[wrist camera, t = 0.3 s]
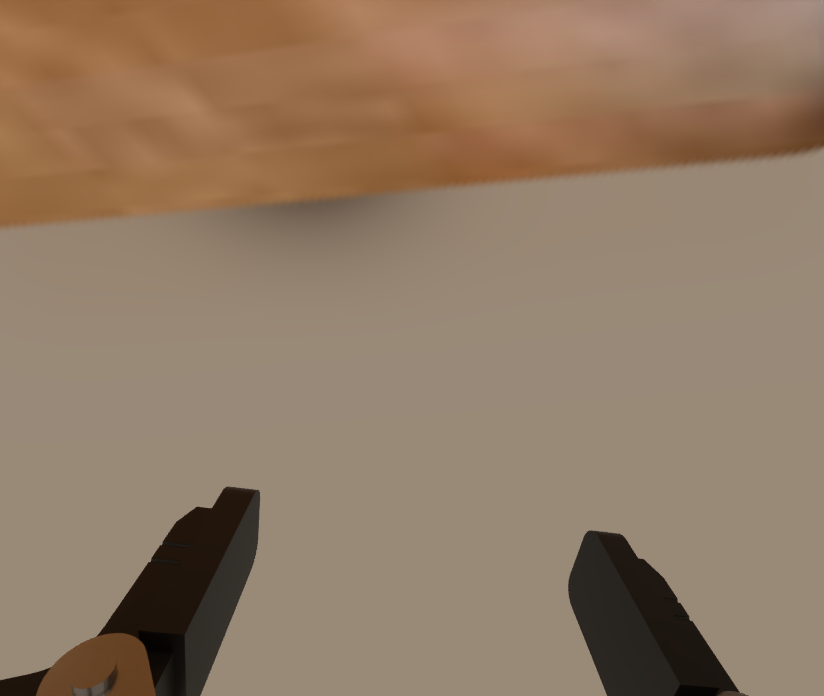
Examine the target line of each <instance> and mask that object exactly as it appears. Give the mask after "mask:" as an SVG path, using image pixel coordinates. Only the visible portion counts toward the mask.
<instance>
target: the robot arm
mask: <svg viewBox="0 0 824 696" xmlns="http://www.w3.org/2000/svg"><path fill="white" fill-rule="evenodd" d="M259 507H260V492H259V490H253V489H244V488H236V487H226V488H225V489H224V490H223V491H222V493H221V494H220V496H219V498H218V499H217V501H216V503H215V504H214V506H213V508H202V507H196V508H195V509H193V510H192V511H191V512H189V513H188V514H187V515H185V516H184V517H183V518H181V519H180V520H178V521H177V522H176V523H175V525H174V526H173V528H172V529H171V531H170V532H169V533H168V535H167V537H166V538H165V539H164V541H163V544H162V546H161V545H160V546H159V548H158V550H157V551H156V552H155V554H154V555H153V557H152V559H151V562H148V564H147V566H146V567H145V568H144V570H143V571H142V573H141V574H140V576H139V577H138V579H137V580H136V581H135V583H134V584H133V586H132V587H131V589H130V590H129V592H128V593H127V594H126V596H125V597H124V599H123V600H122V602H121V603H120V605H119V606H118V608H117V609H116V611H115V612H114V613H113V615H112V616H111V618H110V619H109V621H108V622H107V624H106V625H105V627H104V628H103V629H102V630H101V632H100V633H99V634H98V635H97V636H96V637H95V638H92V639H90V640H87V641H85V642H83V643H81V644H79V645H78V646H76V647H74V648H73V649H71V650H70V651H69V652H67V653H66V654H65V655H63V656H62V657H61V658H60V659H59V660H58V661H57V662H56V663H55V664H54V665H53V666H52V667H51V668H48V669H45V670H43V671H39V672H36V673H32V674H28V675H23V676H18V677H14V678H9V679H5V680H0V696H200V695H201V692H202V690H203V688H204V685H205V683H206V680H207V678H208V675H209V673H210V670H211V668H212V665H213V663H214V661H215V658H216V655H217V653H218V650H219V648H220V646H221V643H222V641H223V638H224V636H225V633H226V630H227V628H228V625H229V623H230V621H231V618H232V616H233V614H234V611H235V609H236V606H237V603H238V601H239V599H240V596H241V594H242V591H243V589H244V586H245V584H246V581H247V579H248V576H249V574H250V571H251V569H252V566H253V563H254V559H255V555H256V550H257V544H258V528H259ZM568 588H569V589H568V591H569V598H570V603H571V606H572V609H573V611H574V614H575V616H576V619H577V621H578V624H579V626H580V629H581V631H582V633H583V636H584V639H585V641H586V644H587V646H588V648H589V651H590V654H591V656H592V658H593V661H594V664H595V666H596V668H597V671H598V674H599V676H600V679H601V681H602V684H603V686H604V689H605V691H606V694H607V696H747V695H745V694H743V693H740V692H739V691H738V689H737V688H736V686H735V685H734V683H733V682H732V680H731V679H730V677H729V676H728V674H727V673H726V671H725V670H724V668H723V667H722V665H721V664H720V662H719V661H718V659H717V658H716V656H715V654H714V653H713V651H712V650H711V649H710V647H709V645H708V644H707V642H706V641H705V640H704V638H703V636H702V635H701V634H700V632H699V630H698V629H697V627H696V626H695V624H694V623H693V622H692V621H690V620H689V615H688V614H687V612H686V611H685V609H684V608H683V606H682V605H681V603H678V601H677V597H676V596H675V594H674V593H673V591H672V590H671V588H670V587H669V585H668V584H667V582H666V581H665V579H664V578H663V577H662V576H661V575H660V574H659V573H658V572H657V571H656V570H655V569H653V568H652V567H651V566H650V565H649V564H648V563H647V562H646V561H645V560H644V559H638V557H637V556H636V554H635V553H634V551H633V550H632V548H631V546H630V545H629V543H628V542H627V540H626V539H625V538H624V536H623V535H621V534H616V533H608V532H599V531H588V532H587V533H586V534H585V536H584V538H583V541H582V544H581V546H580V550H579V552H578V555H577V558H576V560H575V563H574V566H573V568H572V571H571V574H570V577H569V584H568Z"/></svg>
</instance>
